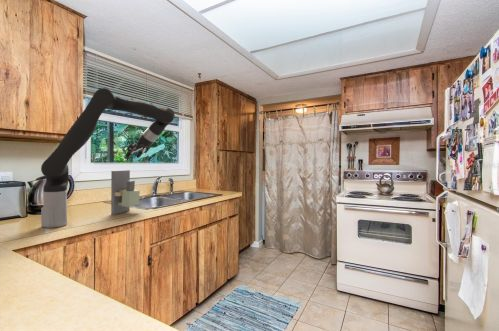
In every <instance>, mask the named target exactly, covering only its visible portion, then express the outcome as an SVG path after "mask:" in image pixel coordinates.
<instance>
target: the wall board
mask: <svg viewBox="0 0 499 331" xmlns="http://www.w3.org/2000/svg"><path fill="white" fill-rule="evenodd" d="M110 172H111V175H110V176H111V179H110V180H111V182H110V183H111V184H110V185H111V188H110V189H111V190H110V191H111V192H110V194H111V196H110V198H111V199H110V200H111V201H110V203H111V204H110V205H111V207H110V209H111V210H110V212H111V214H110V215H117V214H120V213H121V214H122V213H124V212H129V211H130V209H131V208H130V207H125V206H121V205H118V203H119V202H122V192H119V190H125V189H126V186H127V181H131V179H130V177H131V176H130V175H131V171H130V170H129V169H128V170H127V169H126V170H123V169H122V170H111V171H110Z"/></svg>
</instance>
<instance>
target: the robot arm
mask: <svg viewBox="0 0 499 331" xmlns="http://www.w3.org/2000/svg"><path fill="white" fill-rule="evenodd" d="M105 110H110V111H111V110H113V111H120V112H124V113H125V112H126V113H130V114H133V115H134V114H135V115H138V116H142V117H146V118H148V119H149V118H150V119H153V120H154V121H153V122H152V123H151V124H150V125H149V127H147V128H146V130H144V131H143V133H142V134H141V135H140V136H139V138H138V142H135V141H133V142H132V143H131V144H130V145H129V146H128V147H127V148H126V150H127V152H126V154H125V158H127V159H129V158H130V157H131V156H132V155H133V153H136V152H137V153H136V155H135V158H137V159H140V157H141V156H142V155H144V154H147V153H148V152H149V151H150V150H151V148H152V145H153V144H154V143H155V141H156V140H158V138H159V136H160V135H161V134H162V133H163V132H164V130H165V128H166V127H167V126H168V125H169V124H170V123H172V122H173V121H174V119H175V111H174V110H173V109H171V108H165V109H161V108H158V107H157V106H156V105H153V104H150V103H146V102H141V101H133V100H127V99H123V98H121V97H119V96H116V95H115V94H114V93H113V92H112V91H111V90H110V89H108V88H106V87H103V88H98V89H97V90H96V91H95V92H94V93H93V95H92V96H91V99H90V100H89V102H88V104H87V105H86V107H85V108H84V109H83V111H82V113H80V115H79V116H78V118H77V119H76V120H75V121H74V122H73V124H72V125H71V127H70V128H69V129H68V131H67V132H66V134H65V135H64V137H63V138H61V141H60V142H59V144H58V146H57V147H56V148H55V149H54V151H53V152H51V154H50V155H49V156H48V157H47V158H46V159H45V160H44V161H43V163H42V164H41V167H40V169H41V170H40V171H41V174H42V175H43V176H45V184H44V185H43V192H42V193H43V194H42V195H43V199H42V200H43V201H42V202H43V206H42V207H41V208H40V210H41V211H40V212H41V213H40V217H41V221H40V222H41V224H40V226H41V228H46V229H52V228H59V227H64V226H66V225H68V184H69V165H68V164H69V162H70V160H71V159H72V157H73V156H74V155H75V154H76V153H77V152H78V151H79V150H80V149H81V148H83V146H85V145H86V144H87V142H88V141H89V140H90V138H91V137H92V135H93V134H94V132H95V130H96V128H97V125H98V122H99V119H100V117H101V115H102V114H103V113H104V112H105Z"/></svg>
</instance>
